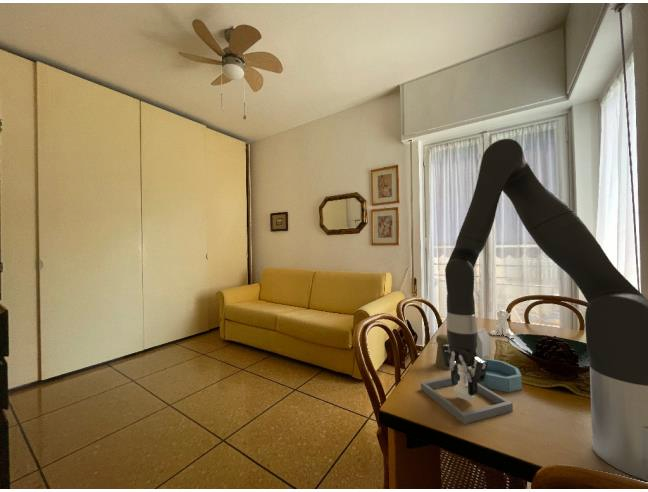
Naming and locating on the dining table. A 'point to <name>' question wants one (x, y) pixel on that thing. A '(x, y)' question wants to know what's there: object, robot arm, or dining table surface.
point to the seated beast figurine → (502, 324)
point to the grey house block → (483, 343)
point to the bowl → (502, 376)
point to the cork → (439, 358)
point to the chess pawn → (462, 385)
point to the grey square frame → (469, 416)
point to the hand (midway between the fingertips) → (463, 388)
